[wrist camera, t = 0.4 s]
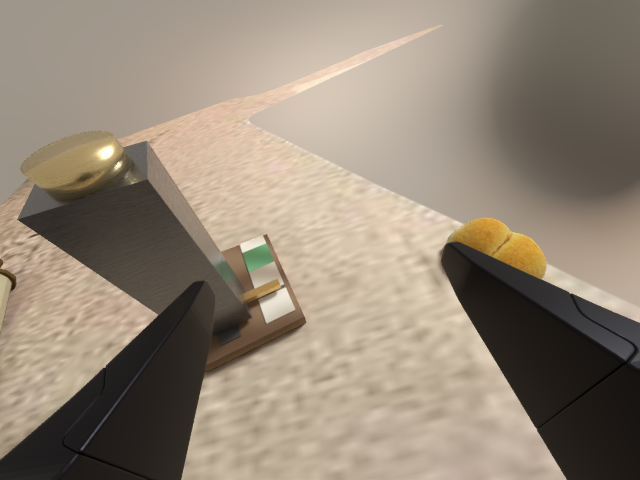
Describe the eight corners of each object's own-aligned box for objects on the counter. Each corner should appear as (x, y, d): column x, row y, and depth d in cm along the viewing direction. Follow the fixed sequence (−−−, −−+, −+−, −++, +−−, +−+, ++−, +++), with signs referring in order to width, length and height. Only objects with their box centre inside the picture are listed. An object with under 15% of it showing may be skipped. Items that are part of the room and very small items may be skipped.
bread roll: (509, 311, 24) (533, 292, 21) (432, 253, 29) (443, 231, 26) (552, 266, 27) (579, 243, 23) (475, 221, 32) (489, 197, 28)
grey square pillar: (287, 301, 24) (216, 130, 11) (199, 342, 22) (-17, 196, 9) (274, 270, 26) (203, 100, 13) (194, 305, 25) (17, 147, 11)
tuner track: (306, 322, 25) (304, 316, 23) (207, 372, 22) (198, 367, 21) (269, 241, 32) (266, 233, 31) (191, 273, 30) (185, 265, 28)
